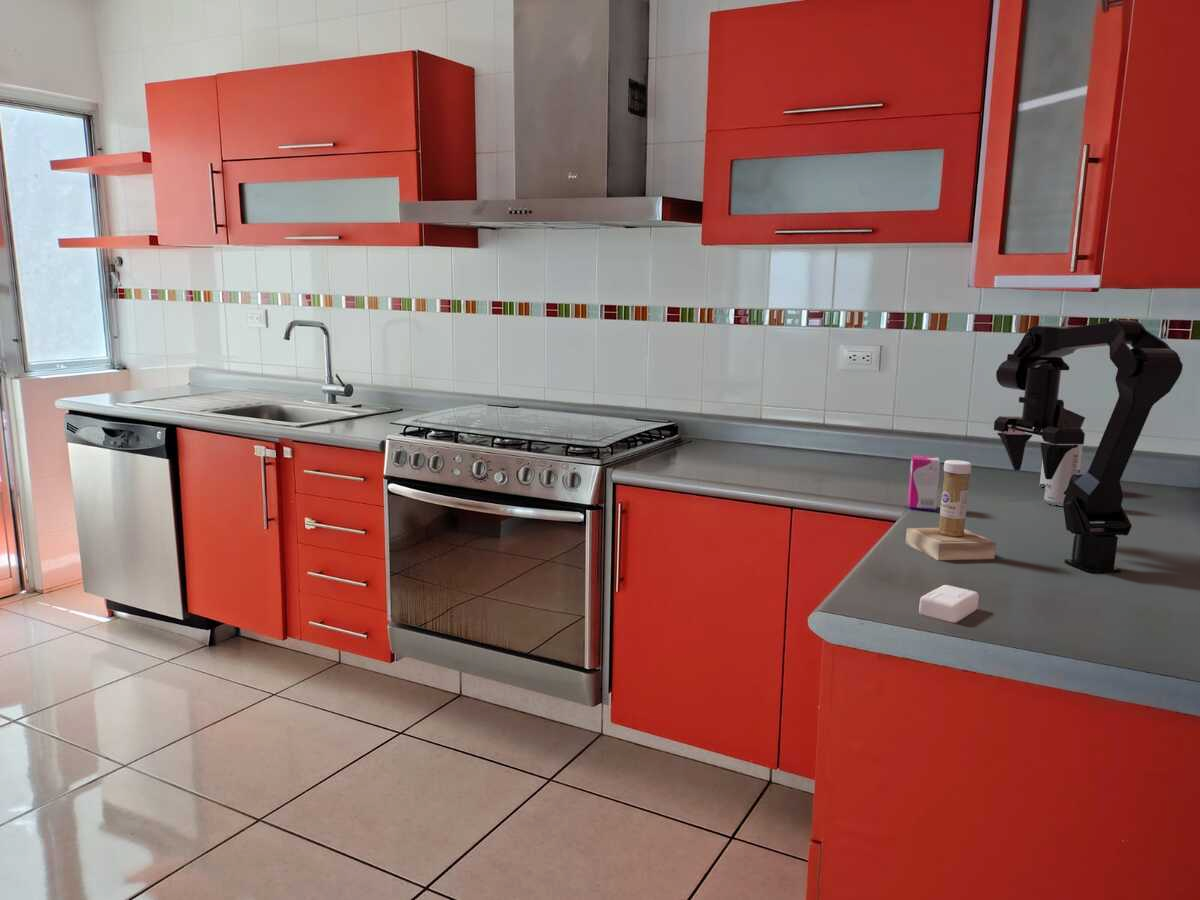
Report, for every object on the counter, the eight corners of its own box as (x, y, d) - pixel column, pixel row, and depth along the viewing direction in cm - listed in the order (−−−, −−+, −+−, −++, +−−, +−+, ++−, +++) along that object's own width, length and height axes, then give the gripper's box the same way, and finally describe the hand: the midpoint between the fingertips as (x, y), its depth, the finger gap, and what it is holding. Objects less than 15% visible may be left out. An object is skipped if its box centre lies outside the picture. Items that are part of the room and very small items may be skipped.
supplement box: (933, 506, 201) (938, 456, 200) (936, 511, 196) (941, 460, 194) (906, 504, 203) (911, 454, 201) (908, 509, 197) (913, 458, 196)
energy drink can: (1044, 500, 212) (1051, 438, 210) (1073, 504, 209) (1080, 440, 207) (1042, 504, 207) (1049, 441, 205) (1071, 508, 204) (1079, 443, 202)
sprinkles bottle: (932, 533, 163) (939, 460, 161) (947, 530, 165) (954, 458, 163) (955, 538, 159) (962, 464, 157) (969, 535, 162) (977, 462, 160)
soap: (941, 602, 134) (943, 582, 134) (978, 611, 131) (980, 591, 130) (916, 615, 128) (918, 595, 127) (955, 625, 124) (957, 605, 123)
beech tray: (994, 558, 158) (996, 541, 158) (937, 560, 156) (939, 542, 156) (958, 542, 169) (960, 526, 169) (905, 543, 167) (906, 527, 166)
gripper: (1115, 398, 160) (1105, 484, 163) (1046, 389, 178) (1037, 466, 181) (1061, 398, 158) (1051, 484, 161) (996, 388, 176) (988, 466, 179)
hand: (1032, 474), depth 170 cm, fingers open, 9 cm apart
